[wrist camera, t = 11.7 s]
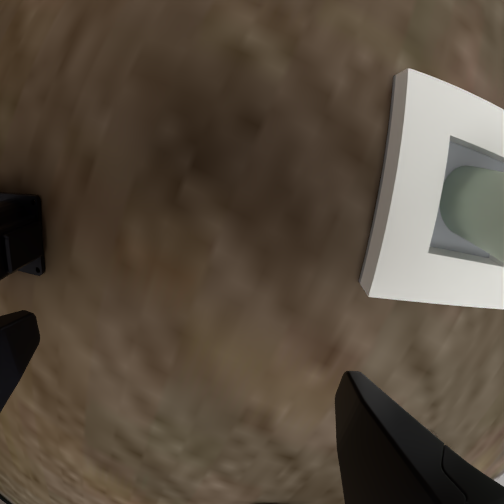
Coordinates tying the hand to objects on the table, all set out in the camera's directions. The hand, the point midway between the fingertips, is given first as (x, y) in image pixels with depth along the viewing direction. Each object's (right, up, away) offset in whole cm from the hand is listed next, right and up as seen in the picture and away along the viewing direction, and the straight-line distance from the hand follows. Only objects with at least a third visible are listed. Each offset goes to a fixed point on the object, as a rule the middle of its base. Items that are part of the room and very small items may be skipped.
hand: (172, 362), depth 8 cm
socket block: (+17, +6, +11) cm, 21 cm away
